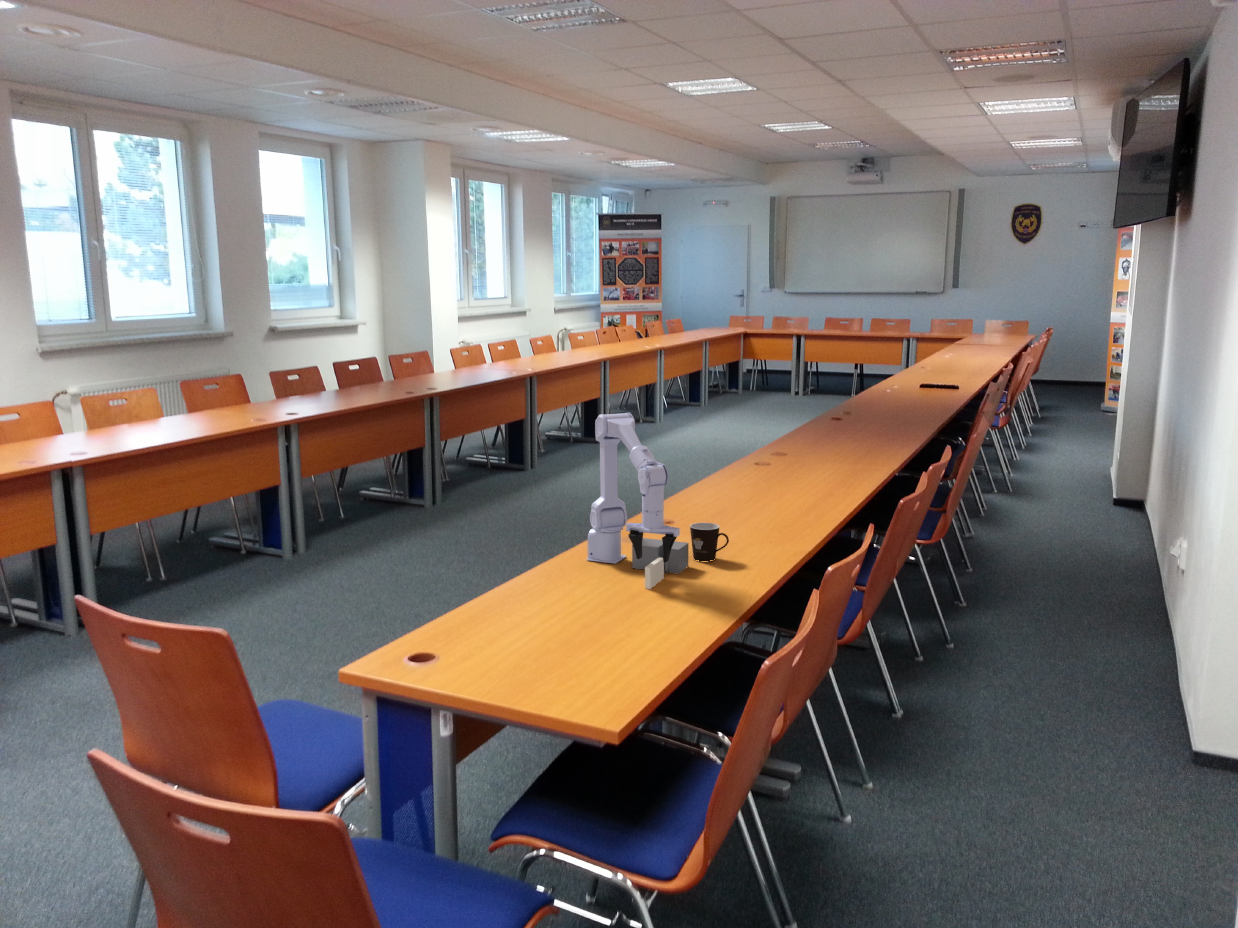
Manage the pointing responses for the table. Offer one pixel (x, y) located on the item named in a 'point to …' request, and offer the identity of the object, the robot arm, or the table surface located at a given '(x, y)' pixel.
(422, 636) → the table surface
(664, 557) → the robot arm
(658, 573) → the white flat block
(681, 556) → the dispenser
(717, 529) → the coffee mug
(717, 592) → the table surface
